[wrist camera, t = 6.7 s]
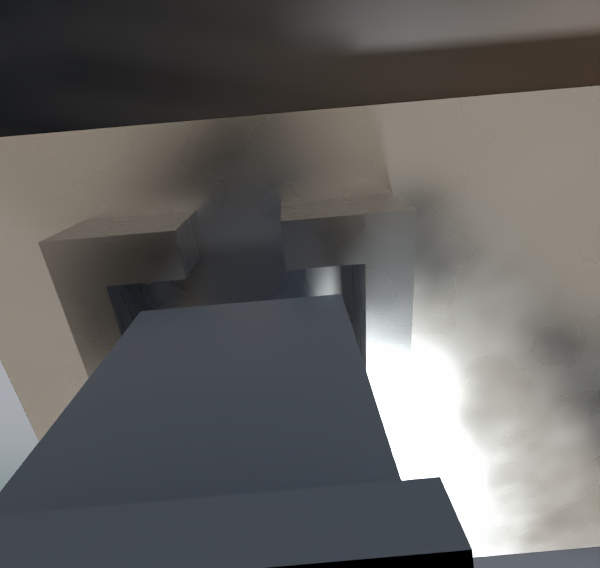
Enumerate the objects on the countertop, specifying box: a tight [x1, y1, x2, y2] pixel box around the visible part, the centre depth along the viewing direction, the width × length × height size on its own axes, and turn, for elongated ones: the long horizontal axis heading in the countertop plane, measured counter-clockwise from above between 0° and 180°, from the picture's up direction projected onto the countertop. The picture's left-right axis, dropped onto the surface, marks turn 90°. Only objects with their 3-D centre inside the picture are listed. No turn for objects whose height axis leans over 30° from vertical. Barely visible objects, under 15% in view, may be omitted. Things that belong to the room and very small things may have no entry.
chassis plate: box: [0, 85, 600, 557], centre depth 11 cm, size 16×20×3 cm
